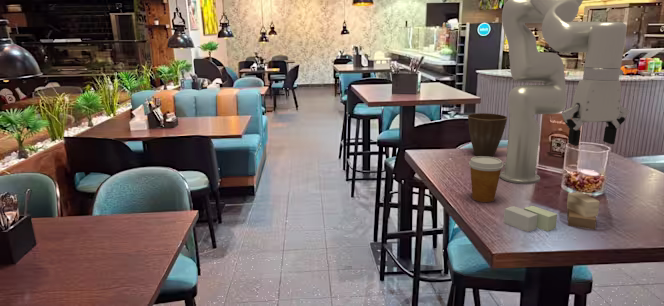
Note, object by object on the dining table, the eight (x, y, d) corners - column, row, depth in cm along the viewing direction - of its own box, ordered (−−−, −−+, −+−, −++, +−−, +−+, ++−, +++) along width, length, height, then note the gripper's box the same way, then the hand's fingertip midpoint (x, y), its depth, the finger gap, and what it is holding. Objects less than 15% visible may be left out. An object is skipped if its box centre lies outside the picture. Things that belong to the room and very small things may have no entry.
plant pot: (509, 154, 183) (513, 115, 179) (495, 161, 172) (498, 121, 168) (474, 148, 192) (477, 112, 188) (459, 155, 182) (461, 116, 178)
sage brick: (522, 222, 116) (523, 208, 115) (530, 219, 118) (532, 205, 117) (547, 232, 110) (548, 217, 109) (555, 228, 112) (557, 214, 111)
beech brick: (566, 207, 119) (568, 193, 118) (578, 206, 119) (580, 192, 118) (585, 217, 112) (587, 202, 111) (597, 216, 113) (599, 201, 112)
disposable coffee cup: (499, 195, 136) (503, 157, 133) (500, 205, 127) (503, 165, 124) (467, 191, 139) (469, 154, 136) (465, 202, 130) (468, 163, 127)
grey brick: (503, 223, 116) (504, 208, 115) (512, 220, 118) (513, 205, 117) (527, 232, 110) (528, 217, 109) (536, 229, 112) (537, 214, 111)
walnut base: (567, 214, 121) (568, 204, 121) (592, 218, 119) (593, 207, 118) (567, 227, 114) (569, 216, 113) (594, 231, 111) (596, 220, 110)
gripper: (622, 73, 112) (611, 139, 117) (558, 74, 110) (550, 141, 115) (646, 75, 105) (633, 146, 109) (578, 77, 103) (568, 149, 107)
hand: (590, 143), depth 112 cm, fingers open, 9 cm apart
